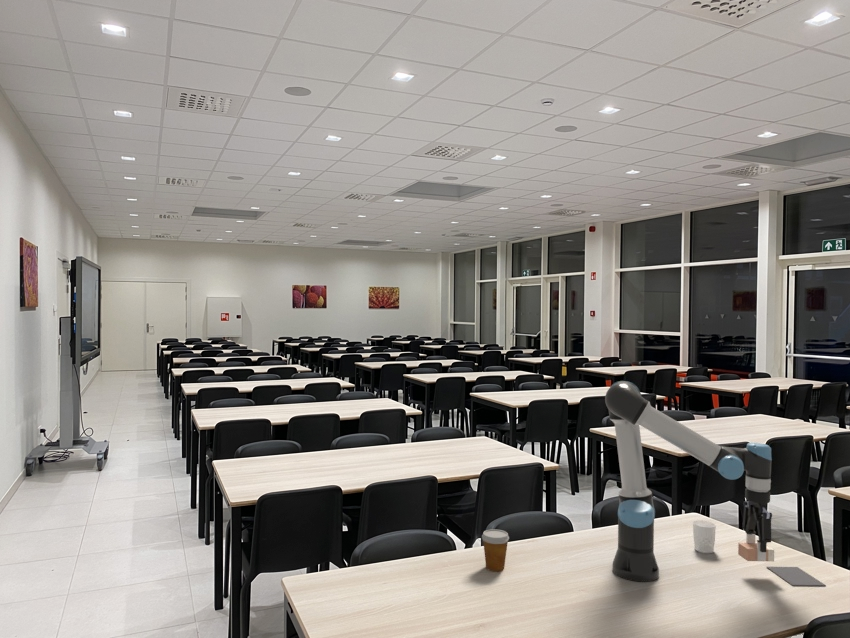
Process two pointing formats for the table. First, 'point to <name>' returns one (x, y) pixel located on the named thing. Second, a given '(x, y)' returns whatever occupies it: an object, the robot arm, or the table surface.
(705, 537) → the white cup
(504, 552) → the disposable coffee cup
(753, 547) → the flat block
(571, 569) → the table surface
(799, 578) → the mat
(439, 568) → the table surface
